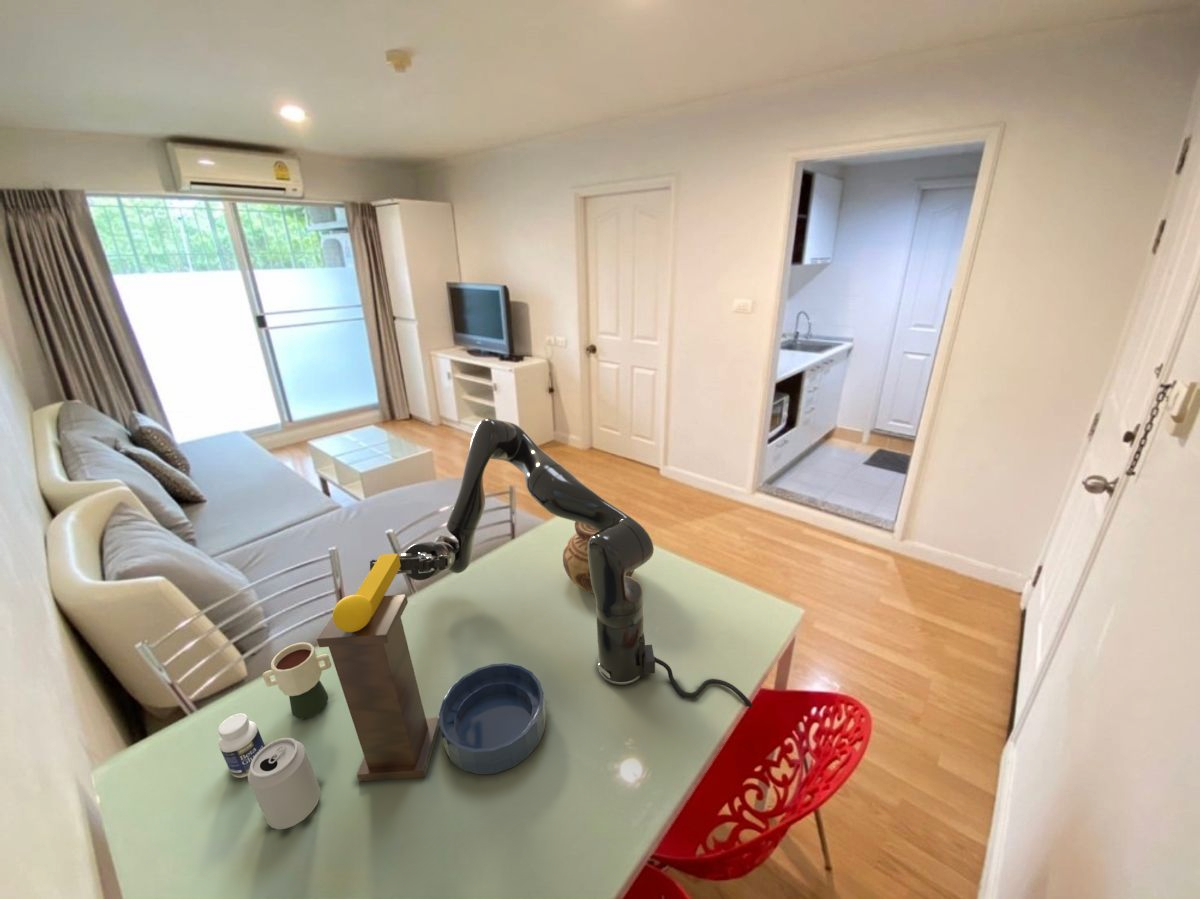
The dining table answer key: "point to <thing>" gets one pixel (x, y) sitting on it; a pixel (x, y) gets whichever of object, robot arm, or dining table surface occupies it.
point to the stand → (383, 694)
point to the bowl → (492, 718)
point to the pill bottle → (239, 743)
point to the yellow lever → (366, 595)
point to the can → (284, 783)
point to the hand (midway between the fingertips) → (397, 567)
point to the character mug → (300, 678)
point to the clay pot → (580, 556)
